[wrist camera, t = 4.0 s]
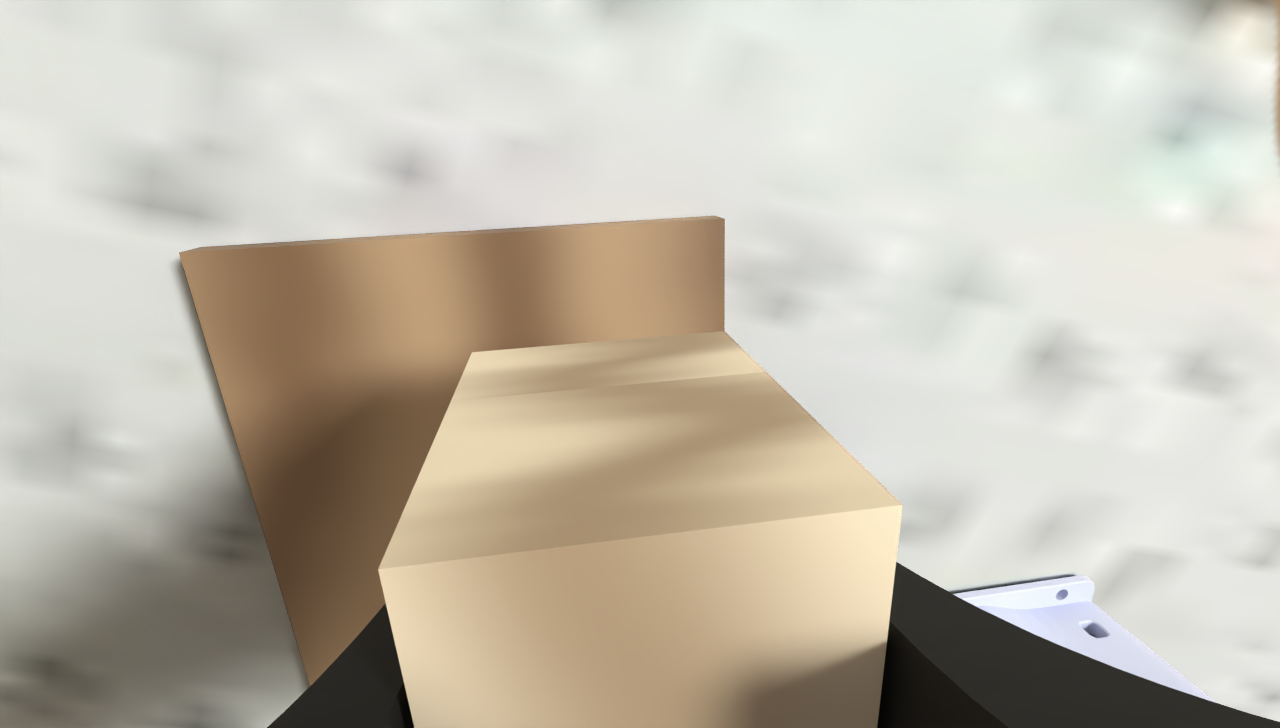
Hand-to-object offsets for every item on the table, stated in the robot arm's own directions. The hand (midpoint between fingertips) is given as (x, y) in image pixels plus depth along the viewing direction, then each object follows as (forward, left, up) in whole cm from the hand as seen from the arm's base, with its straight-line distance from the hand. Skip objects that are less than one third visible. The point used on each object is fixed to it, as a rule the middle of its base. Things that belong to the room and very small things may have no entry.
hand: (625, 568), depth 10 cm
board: (+3, +7, -9) cm, 12 cm away
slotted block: (0, 0, -3) cm, 3 cm away
